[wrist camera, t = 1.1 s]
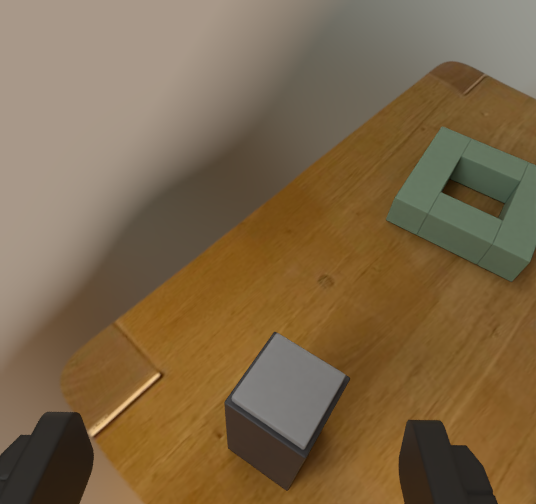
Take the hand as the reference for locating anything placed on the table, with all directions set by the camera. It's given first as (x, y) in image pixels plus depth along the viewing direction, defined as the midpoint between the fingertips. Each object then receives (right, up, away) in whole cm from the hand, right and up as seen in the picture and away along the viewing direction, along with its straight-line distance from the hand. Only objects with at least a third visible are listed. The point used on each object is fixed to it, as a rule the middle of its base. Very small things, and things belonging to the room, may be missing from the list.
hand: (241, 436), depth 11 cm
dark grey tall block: (+1, -8, +18) cm, 20 cm away
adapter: (+19, +9, +31) cm, 38 cm away
